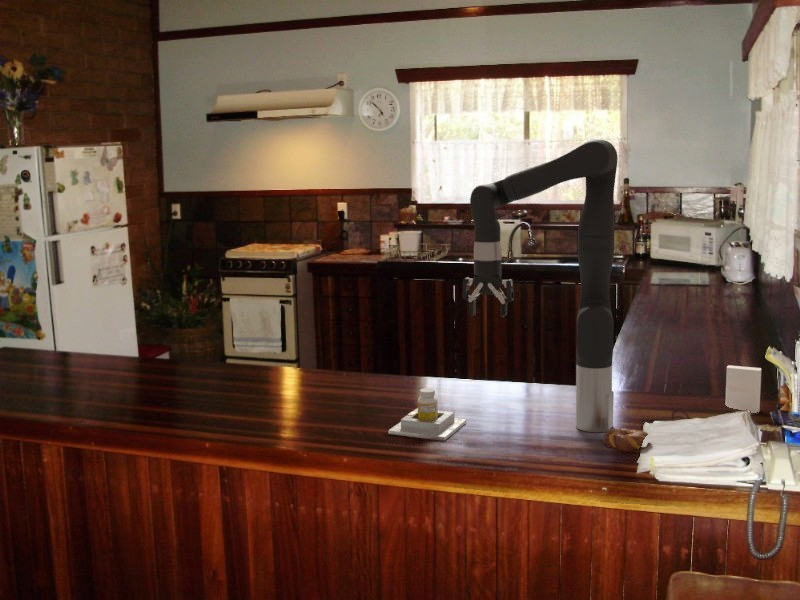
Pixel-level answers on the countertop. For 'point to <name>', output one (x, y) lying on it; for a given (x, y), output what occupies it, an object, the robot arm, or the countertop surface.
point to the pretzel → (624, 439)
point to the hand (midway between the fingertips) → (488, 315)
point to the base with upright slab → (743, 388)
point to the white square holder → (428, 426)
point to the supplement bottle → (427, 405)
